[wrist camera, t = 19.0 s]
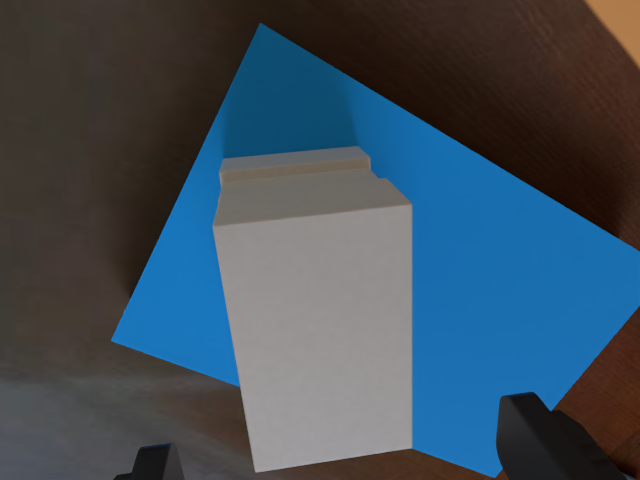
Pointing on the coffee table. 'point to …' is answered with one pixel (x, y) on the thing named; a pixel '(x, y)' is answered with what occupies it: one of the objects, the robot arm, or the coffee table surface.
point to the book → (427, 255)
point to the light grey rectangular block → (294, 170)
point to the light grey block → (320, 318)
